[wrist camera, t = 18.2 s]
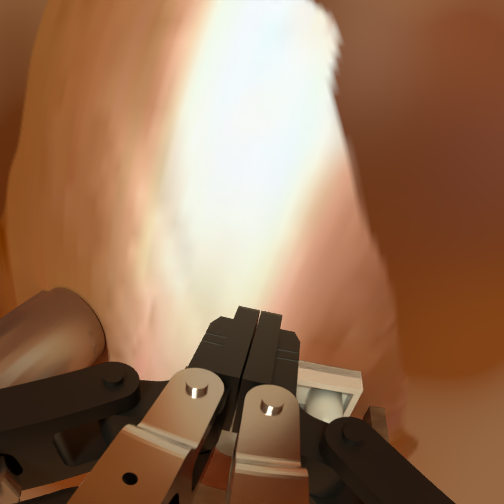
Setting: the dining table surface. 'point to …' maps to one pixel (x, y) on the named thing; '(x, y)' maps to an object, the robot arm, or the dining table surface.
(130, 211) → the dining table surface
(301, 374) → the tray
